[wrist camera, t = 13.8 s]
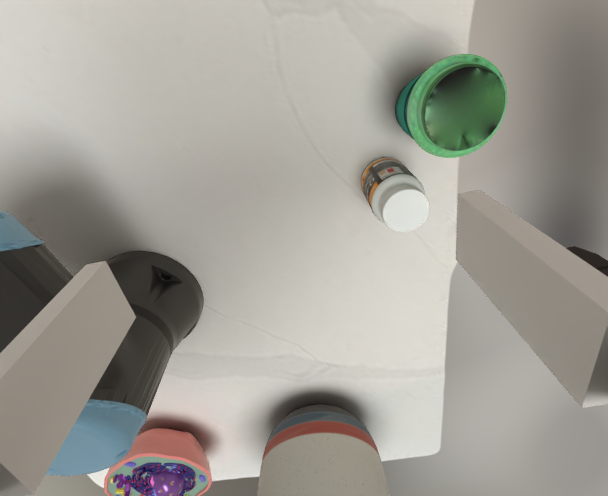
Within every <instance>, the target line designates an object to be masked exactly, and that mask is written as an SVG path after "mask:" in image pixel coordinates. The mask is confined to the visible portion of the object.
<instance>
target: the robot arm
mask: <svg viewBox="0 0 608 496" xmlns="http://www.w3.org/2000/svg"><path fill="white" fill-rule="evenodd" d="M44 244H45V243H44V242H43V241H42V240H41V239H37V238H36V237H35V236H34V235H33V234H32V233H31V232H30V231H29V230H28V229H27V228H25V227H24V226H23V225H22V224H21V223H20V222H19V221H18V220H17V219H16V218H15V217H14V216H13V215H11V214H10V213H8V212H6V211H3V210H0V495H1V496H26V495H32V494H34V493H35V491H36V490H37V487H38V486H39V484H40V482H41V481H42V479H43V477H44V476H45V474H49V475H62V476H70V475H83V474H89V473H94V472H98V471H101V470H104V469H106V468H109V467H111V466H113V465H114V464H116V463H118V462H119V461H120V460H121V459H123V458H124V457H125V456H126V455H127V453H128V452H129V451H130V449H131V447H132V445H133V443H134V441H135V439H136V437H137V435H138V433H139V431H140V429H141V427H142V426H143V425H144V424H145V422H146V419H147V418H146V417H147V415H148V412H149V410H150V407H151V404H152V402H153V399H154V397H155V394H156V392H157V389H158V386H159V384H160V381H161V379H162V376H163V374H164V371H165V369H166V366H167V363H168V361H169V358H170V356H171V354H172V351H173V350H174V349H175V348H176V347H177V346H178V344H179V343H180V342H181V340H182V339H184V338H185V337H186V336H188V335H189V334H190V333H191V332H192V330H193V329H194V328H195V326H196V324H197V323H198V320H199V318H200V315H201V312H202V309H203V295H202V291H201V288H200V286H199V284H198V282H197V281H196V279H195V278H194V276H193V275H192V274H191V273H190V272H189V271H188V270H187V269H186V268H185V267H183V266H182V265H181V264H179V263H177V262H176V261H174V260H172V259H170V258H168V257H165V256H163V255H159V254H156V253H151V252H141V251H138V252H128V253H123V254H120V255H118V256H115V257H113V258H112V259H110V260H109V261H107V262H106V261H102V262H97V263H91V264H86V265H85V266H84V267H83V268H82V269H81V270H80V271H79V272H78V273H77V274H76V275H75V276H74V277H73V276H72V275H71V274H70V273H69V272H68V271H67V270H66V269H65V268H64V267H63V266H62V264H61V263H60V262H59V261H58V260H57V259H56V258H55V257H54V256H53V255H52V253H51V252H50V251H49V250H48V249H47V248H46V247H45V246H44ZM456 260H457V261H458V262H459V263H460V265H461V266H462V267H463V268H464V269H465V271H466V272H467V273H468V274H469V275H470V277H472V279H473V280H474V281H475V282H476V284H477V285H478V286H479V287H480V288H481V289H482V291H483V292H484V293H485V294H486V295H487V297H488V298H489V299H490V300H491V301H492V303H493V304H494V305H495V306H496V307H497V308H498V310H499V311H500V312H501V313H502V314H503V315H504V317H505V318H506V319H507V320H508V321H509V323H510V324H511V325H512V326H513V327H514V328H515V330H516V331H517V332H518V333H519V334H520V336H521V337H522V338H523V339H524V340H525V342H526V343H527V344H528V345H529V346H530V347H531V349H532V350H533V351H534V352H535V353H536V355H537V356H538V357H539V358H540V359H541V360H542V362H543V363H544V364H545V365H546V366H547V368H548V369H549V370H550V371H551V372H552V373H553V375H554V376H555V377H556V378H557V379H558V380H559V382H560V383H561V384H562V385H563V386H564V387H565V389H566V390H567V391H568V392H569V393H570V395H571V396H572V397H573V398H574V399H575V401H576V402H577V403H578V404H579V405H580V406H581V408H583V407H590V406H596V405H602V404H608V261H607V260H605V259H604V258H602V257H601V256H599V255H597V254H595V253H592V252H589V251H587V250H584V249H581V248H578V247H575V246H574V247H569V248H564V247H563V246H562V245H560V244H559V243H557V242H556V241H554V240H553V239H551V238H550V237H548V236H547V235H545V234H544V233H542V232H541V231H539V230H538V229H537V228H535V227H534V226H532V225H531V224H529V223H528V222H526V221H525V220H523V219H522V218H520V217H519V216H517V215H516V214H514V213H513V212H512V211H510V210H509V209H507V208H506V207H504V206H503V205H501V204H500V203H498V202H497V201H495V200H494V199H492V198H491V197H489V196H488V195H486V194H485V193H484V192H482V191H481V190H475V191H471V192H465V193H460V194H458V204H457V238H456Z"/></svg>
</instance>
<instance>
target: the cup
mask: <svg viewBox="0 0 608 496" xmlns="http://www.w3.org/2000/svg"><path fill="white" fill-rule="evenodd" d="M506 104H507V91H506V85H505V82H504V79H503V77H502V75H501V73H500V72H499V70H498V69H497V68H496V67H495V66H494V65H493V64H492V63H491V62H490V61H488V60H486V59H484V58H482V57H480V56H477V55H471V54H461V55H454V56H450V57H447V58H445V59H442V60H440V61H438V62H437V63H435V64H434V65H432V66H431V67H430V68H429V69H427V70H426V71H425V72H424V73H422V74H421V75H419V76H418V77H416V78H415V79H413V80H412V81H411V82H410V83H409V84H408V85H407V86H406V87H405V88H404V89H403V90H402V91H401V93H400V95H399V97H398V99H397V102H396V109H395V111H396V118H397V120H398V123H399V124H400V126H401V127H402V129H403V130H404V131H405V132H406V133H407V134H408V135H409V136H410V137H412V138H413V139H414V140H415V141H416V143H417V144H418V145H419V146H420V147H421V148H422V149H424V150H425V151H427V152H428V153H431V154H433V155H436V156H439V157H446V158H454V157H460V156H464V155H467V154H470V153H472V152H474V151H476V150H477V149H479V148H480V147H482V146H483V145H484V144H485V143H486V142H488V140H489V139H490V138H491V137H492V136H493V135H494V133H495V132H496V131H497V129H498V128H499V126H500V123H501V122H502V119H503V117H504V114H505V110H506Z"/></svg>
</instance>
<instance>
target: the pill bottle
mask: <svg viewBox="0 0 608 496" xmlns="http://www.w3.org/2000/svg"><path fill="white" fill-rule="evenodd" d="M361 186H362V190H363V193H364V195H365V197H366V199H367V201H368V203H369V205H370V207H371V209H372V212H373V213H374V215H375V216H376V217H377V218H378V219H379V220H380V221H382V222H383V223H385V224H386V225H387V226H388V227H389V228H390V229H392V230H394V231H397V232H409V231H412V230H414V229H416V228H418V227H419V226H420V225H422V224H423V223H424V221H425V220H426V218H427V216H428V214H429V208H430V206H429V201H428V199H427V197H426V196H425V191H424V188H423V186H422V184H421V182H420V181H419V180H418V179H417V178H416V177H415V176H414V175H413V174H412V173H411V172H410V171H409V170H408V169H407V168H406V167H405V166H404V165H403V164H402V163H401V162H399V161H398V160H396V159H393V158H381V159H378V160H376V161H374V162H372V163H371V164H369V166H368V167H367V168H366V169H365V171H364V173H363V175H362V179H361Z"/></svg>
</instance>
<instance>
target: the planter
mask: <svg viewBox="0 0 608 496" xmlns="http://www.w3.org/2000/svg"><path fill="white" fill-rule="evenodd" d="M257 496H390V494H389V491H388V486H387V482H386V478H385V474H384V471H383V467H382V463H381V459H380V456H379V453H378V450H377V447H376V445H375V443H374V441H373V439H372V437H371V435H370V433H369V432H368V430H367V429H366V427H365V426H364V425H363V423H362V422H361V421H360V420H359V419H357V418H356V417H355V416H354V415H352V414H351V413H349V412H347V411H345V410H343V409H341V408H338V407H335V406H331V405H323V404H317V405H310V406H306V407H302V408H300V409H297V410H295V411H294V412H292V413H290V414H289V415H287V416H286V417H285V418H284V419H282V420H281V421H280V422H279V424H278V425H277V426H276V427H275V429H274V430H273V432H272V433H271V435H270V437H269V439H268V442H267V445H266V447H265V451H264V454H263V459H262V464H261V470H260V478H259V486H258V494H257Z"/></svg>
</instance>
